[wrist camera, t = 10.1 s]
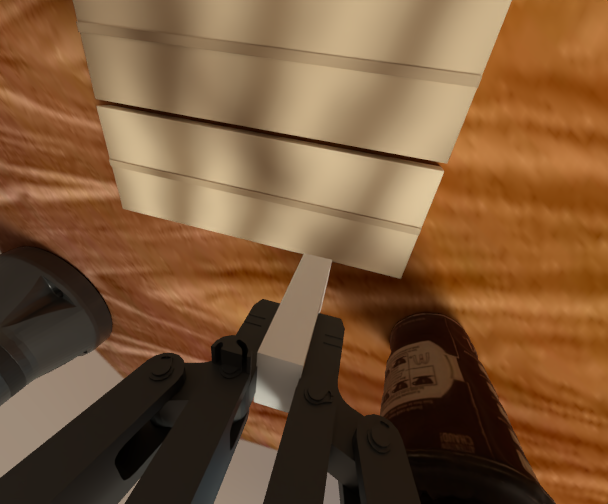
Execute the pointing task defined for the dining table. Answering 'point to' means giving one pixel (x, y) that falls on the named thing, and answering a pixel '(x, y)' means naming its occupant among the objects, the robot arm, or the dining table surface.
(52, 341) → the robot arm
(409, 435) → the coffee cup
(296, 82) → the laid board
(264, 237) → the plank
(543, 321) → the dining table surface
